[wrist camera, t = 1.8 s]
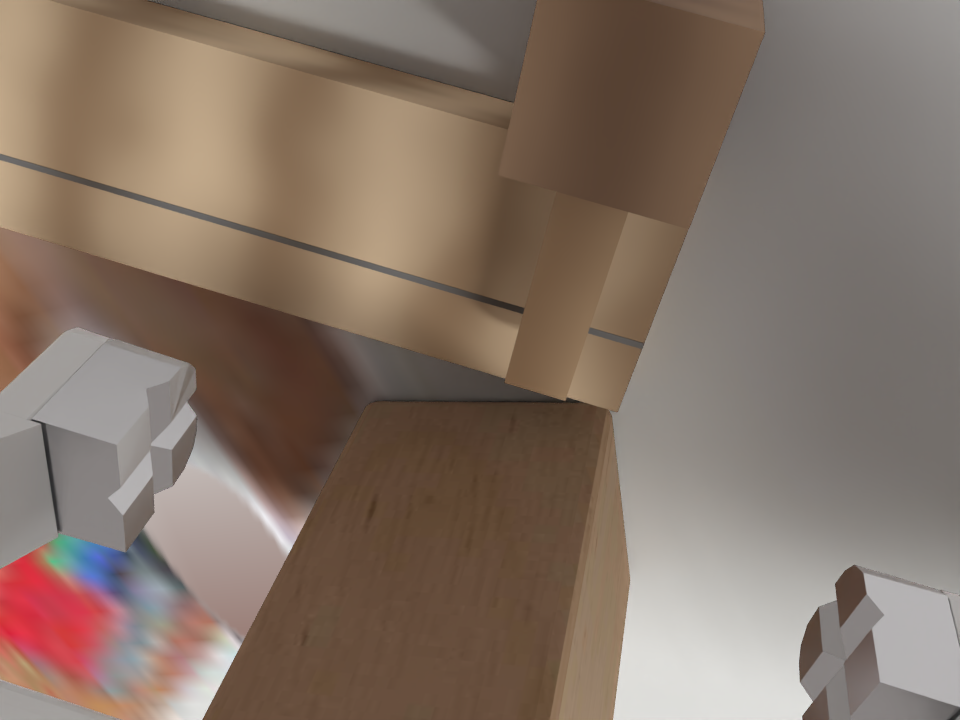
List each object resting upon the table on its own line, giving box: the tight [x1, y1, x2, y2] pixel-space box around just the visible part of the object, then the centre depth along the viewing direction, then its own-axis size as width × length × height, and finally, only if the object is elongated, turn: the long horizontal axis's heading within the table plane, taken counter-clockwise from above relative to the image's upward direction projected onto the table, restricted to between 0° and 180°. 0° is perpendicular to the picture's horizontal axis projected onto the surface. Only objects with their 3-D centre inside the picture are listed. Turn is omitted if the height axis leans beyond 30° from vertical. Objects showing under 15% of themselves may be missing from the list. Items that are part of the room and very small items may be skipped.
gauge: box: [498, 0, 765, 401], centre depth 26 cm, size 5×12×6 cm, turn 169°
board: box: [0, 0, 688, 412], centre depth 30 cm, size 24×9×2 cm, turn 79°
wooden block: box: [203, 401, 630, 720], centre depth 30 cm, size 10×10×20 cm
